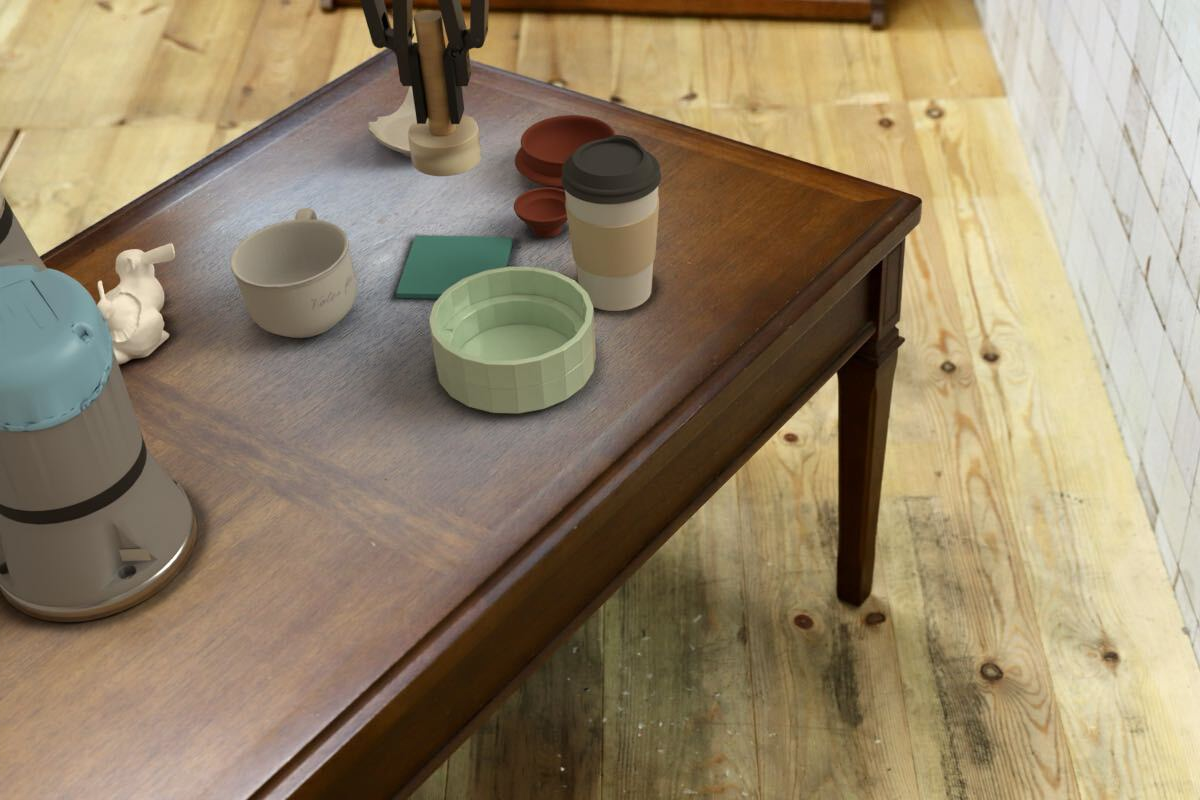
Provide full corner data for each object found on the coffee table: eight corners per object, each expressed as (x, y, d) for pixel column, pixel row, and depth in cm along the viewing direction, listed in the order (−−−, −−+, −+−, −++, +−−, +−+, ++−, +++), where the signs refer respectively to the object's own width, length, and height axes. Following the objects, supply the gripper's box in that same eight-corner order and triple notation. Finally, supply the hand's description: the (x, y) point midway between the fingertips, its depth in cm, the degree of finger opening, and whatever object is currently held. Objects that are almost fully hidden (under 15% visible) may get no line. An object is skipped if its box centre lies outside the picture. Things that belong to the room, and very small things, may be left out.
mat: (396, 298, 133) (395, 293, 132) (415, 240, 140) (415, 235, 140) (499, 300, 132) (498, 295, 131) (513, 241, 139) (512, 236, 139)
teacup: (339, 359, 126) (324, 287, 121) (228, 347, 128) (209, 277, 122) (387, 272, 136) (375, 202, 131) (284, 263, 138) (268, 194, 133)
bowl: (424, 416, 119) (415, 362, 115) (451, 317, 130) (444, 265, 126) (587, 421, 118) (584, 366, 114) (601, 320, 129) (599, 267, 125)
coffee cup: (639, 327, 128) (636, 187, 118) (552, 305, 131) (541, 168, 121) (677, 274, 134) (676, 138, 124) (592, 255, 137) (585, 120, 127)
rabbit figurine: (146, 294, 135) (120, 210, 128) (216, 304, 133) (193, 219, 127) (81, 370, 126) (49, 284, 120) (155, 381, 124) (127, 294, 118)
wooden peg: (406, 176, 125) (384, 33, 116) (418, 140, 130) (397, 0, 121) (476, 176, 124) (459, 32, 115) (485, 139, 129) (469, -1, 120)
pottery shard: (377, 175, 150) (370, 135, 147) (361, 129, 158) (354, 89, 155) (470, 158, 152) (465, 117, 149) (449, 113, 160) (444, 73, 157)
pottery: (633, 150, 152) (632, 114, 149) (596, 251, 137) (594, 214, 134) (530, 143, 154) (528, 107, 151) (483, 242, 139) (479, 205, 137)
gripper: (298, -132, 107) (347, 136, 122) (495, -134, 105) (520, 138, 121) (322, -165, 113) (366, 95, 128) (509, -167, 111) (531, 96, 126)
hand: (440, 116), depth 124 cm, fingers closed on wooden peg, 2 cm apart
